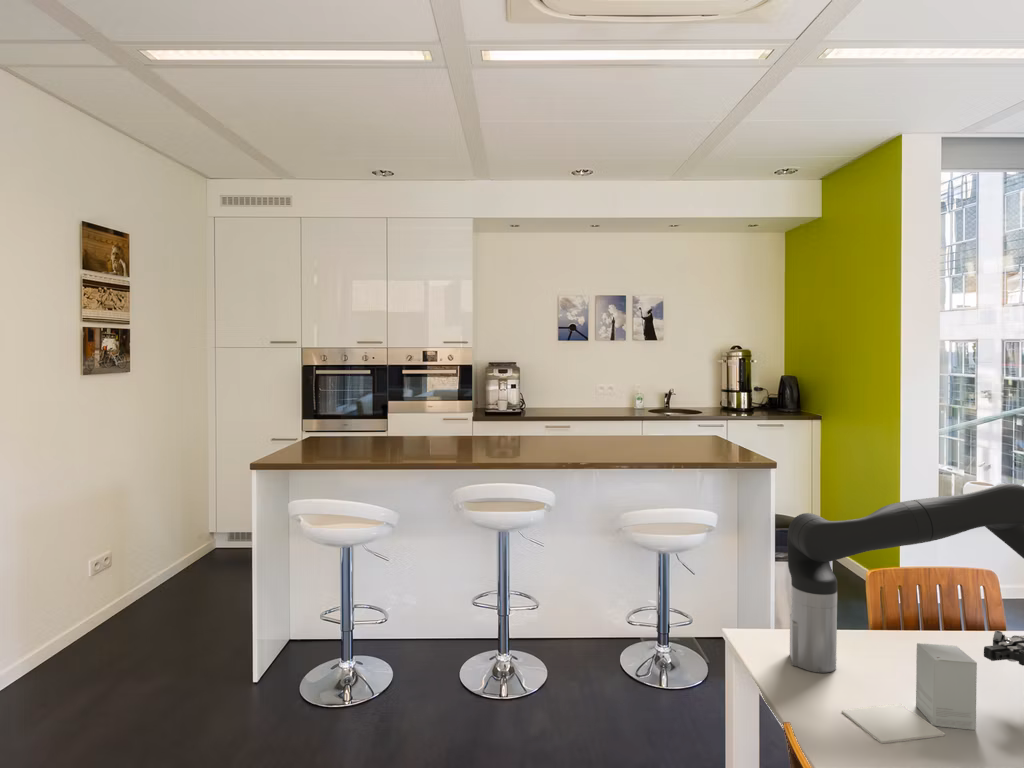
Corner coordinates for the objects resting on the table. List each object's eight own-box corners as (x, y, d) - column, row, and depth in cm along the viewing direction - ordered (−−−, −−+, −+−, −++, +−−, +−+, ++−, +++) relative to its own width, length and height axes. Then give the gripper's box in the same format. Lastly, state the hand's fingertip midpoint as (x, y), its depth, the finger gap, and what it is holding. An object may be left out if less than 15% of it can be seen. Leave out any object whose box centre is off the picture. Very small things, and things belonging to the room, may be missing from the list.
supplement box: (977, 731, 112) (978, 663, 111) (932, 726, 113) (933, 659, 113) (956, 709, 119) (957, 645, 119) (914, 704, 121) (915, 641, 120)
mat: (881, 743, 108) (881, 741, 108) (841, 712, 118) (841, 710, 118) (944, 735, 110) (944, 733, 110) (900, 705, 120) (900, 703, 120)
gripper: (1028, 614, 127) (957, 620, 124) (1100, 642, 114) (1021, 650, 111) (1028, 650, 127) (956, 656, 124) (1099, 682, 114) (1021, 690, 111)
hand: (987, 653), depth 117 cm, fingers closed
